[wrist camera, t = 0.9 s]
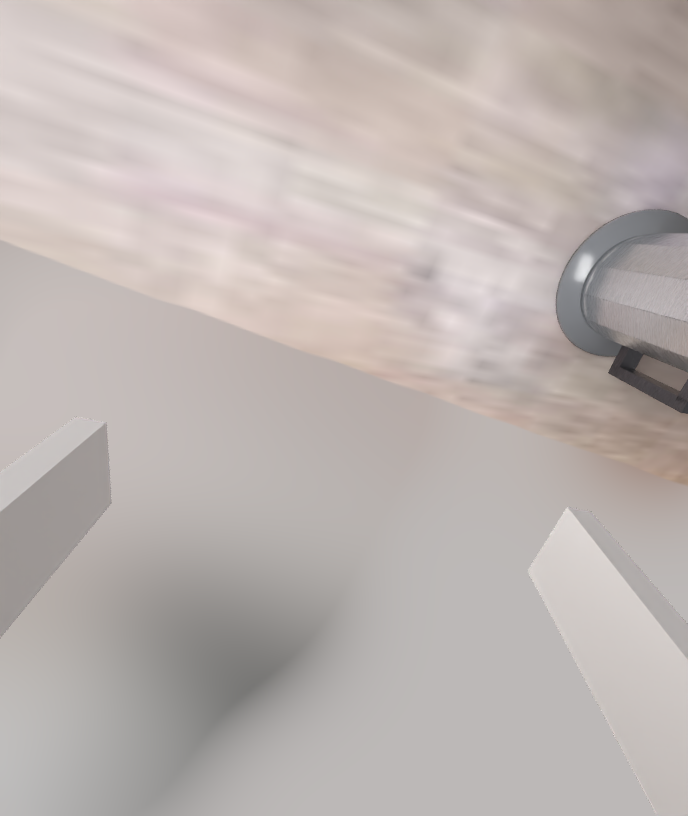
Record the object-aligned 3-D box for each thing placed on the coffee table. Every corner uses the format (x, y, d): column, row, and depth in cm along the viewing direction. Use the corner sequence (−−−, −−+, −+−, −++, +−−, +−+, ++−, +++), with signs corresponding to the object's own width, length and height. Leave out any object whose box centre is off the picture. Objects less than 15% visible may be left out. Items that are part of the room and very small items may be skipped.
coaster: (594, 195, 35) (598, 195, 34) (731, 226, 36) (737, 226, 35) (534, 342, 41) (536, 343, 40) (653, 364, 42) (657, 366, 41)
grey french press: (608, 225, 35) (758, 222, 22) (704, 245, 36) (900, 254, 23) (552, 355, 41) (646, 412, 28) (636, 370, 41) (765, 433, 29)
